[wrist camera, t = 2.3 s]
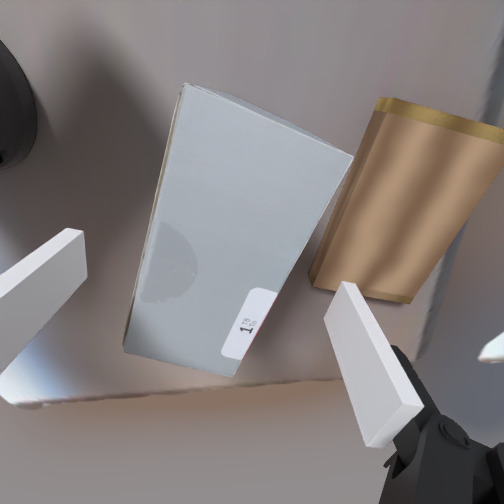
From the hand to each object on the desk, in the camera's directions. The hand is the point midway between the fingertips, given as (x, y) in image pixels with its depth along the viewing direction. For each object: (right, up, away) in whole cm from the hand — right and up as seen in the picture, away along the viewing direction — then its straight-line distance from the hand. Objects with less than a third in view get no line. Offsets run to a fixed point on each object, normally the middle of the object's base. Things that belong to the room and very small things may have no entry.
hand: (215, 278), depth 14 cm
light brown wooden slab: (+19, +6, +19) cm, 28 cm away
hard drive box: (0, +10, +17) cm, 20 cm away
